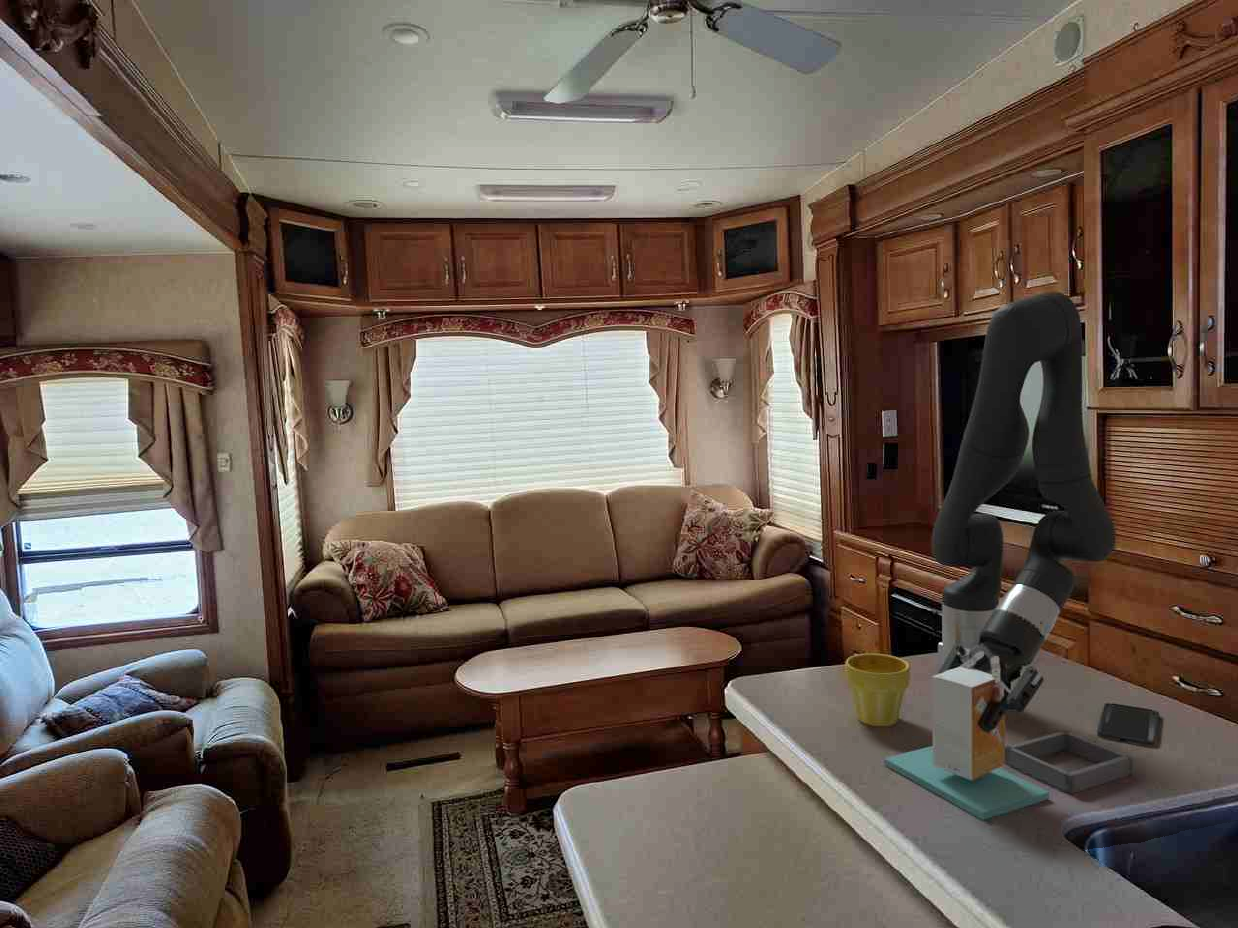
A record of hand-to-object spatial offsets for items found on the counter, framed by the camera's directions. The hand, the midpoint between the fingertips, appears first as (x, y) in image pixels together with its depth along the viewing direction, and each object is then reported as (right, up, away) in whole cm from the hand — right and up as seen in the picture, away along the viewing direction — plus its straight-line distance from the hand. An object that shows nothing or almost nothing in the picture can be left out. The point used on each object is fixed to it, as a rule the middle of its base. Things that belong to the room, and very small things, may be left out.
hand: (961, 719), depth 113 cm
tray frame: (+17, -9, +5) cm, 20 cm away
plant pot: (-4, -8, +25) cm, 26 cm away
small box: (+2, -7, +1) cm, 7 cm away
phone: (+35, -7, +19) cm, 40 cm away
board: (+1, -9, +2) cm, 10 cm away
